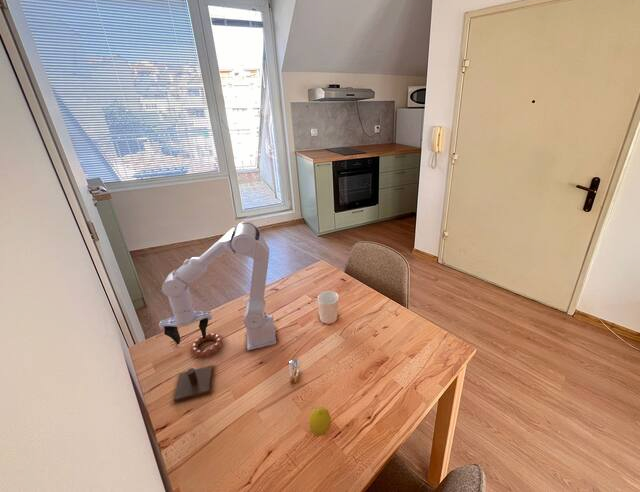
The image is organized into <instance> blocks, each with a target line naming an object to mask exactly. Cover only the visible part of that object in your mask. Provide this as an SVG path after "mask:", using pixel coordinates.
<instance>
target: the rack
mask: <svg viewBox="0 0 640 492" xmlns="http://www.w3.org/2000/svg"><path fill="white" fill-rule="evenodd" d="M212 377H213V365H208V366H204V367H199V368H193V367H190V368H189V369H188V370H186V371H184V372H180V373H179V375H178V380H177V383H176V384H177V385H176V388H175V393H174V396H173V402H174V403H179V402H183V401H186V400H190V399H194V398H196V397H201V396H204V395H209V394H210V392H211V384H212Z"/></svg>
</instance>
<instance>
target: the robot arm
mask: <svg viewBox="0 0 640 492" xmlns="http://www.w3.org/2000/svg"><path fill="white" fill-rule="evenodd" d="M225 253H228V254H231V255H235V254H236V253H237V254H240V255H242V256H245V257H248V258H250V259H252V269H251V270H252V272H251V280H250V290H249V298H248V300H247V301H246V304H245V305H246V307H245V314H244V319H243V324H244V326H245V328H246V335H247V336H246V337H247V339H246V340H247V341H246V345H247V347H246V348H247V349H246V350H247V351H251V350H255V349H260V348H264V347H267V346H273V345H276V344H277V338H276V334H277V330H276V328H275V321H274V315H273V314H267V313H266V310H265V308H266V300H265V291H266V283H267V275H268V267H269V260H270V248H269V246H268V244H267V242H266V240H265V239H264V237H263V235H262V232H261V230H260V228H259V227H257V226H256V225H255V224H254V223H252V222H249V221H242V222H240V223H238V224H237V225H236V227H233V228H231V229H229V230H228V231H227V232H226V233H225V234H224V235H223V236H222V237H221V238H219V239H218V240H216V242H215V243H213V245H212V246H210V247H209V248H208V249H207V250H206V251H205V252H203V253H202V254H201V255H200V256H192V257H191V258H190V259H189V258H186V259H185V260H184V261H183V262H182V263H183V264H182V265H181V266H180V267H178V268H177V269H173V270H172V271H171V272H170V273H169V274H168V275H167V277H166V278H165V281H164V282H163V284H162V286H161V291H162V294H164V295H165V296H167V298H168V301H169V305H170V309H171V312H172V315H173V316H170V317H169V318H165V319H162V320H160V321H159V324H158V326H159V329H160V330H163V333H164V335H165V336H167V337H169V338H171V340H172V341H174V342H175V344H176V345H180V343H181V336H180V332H179V329H178V327H182V328H183V327H187V326H191V325H193V324H195V323H197V322H198V328H199V330H200V332H201V336H202V337H203V339H205V338H206V334H207V328H208V324H209V321H211V320H212V319H213V313H212V311H211V310H209V311H196V310H195V306H194V301H193V299H192V295H191V291H190V288H189V286H190V285H191V284H192V283H194V282H195V281H196V280H198V279H199V278H200V277H201V276H202V275H204V274H205V273H207V272H208V266H209V265H210V264H211V263H213V262H214V261H216V260H217V259H218V258H219V257H221V256H223V255H224V254H225Z"/></svg>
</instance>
